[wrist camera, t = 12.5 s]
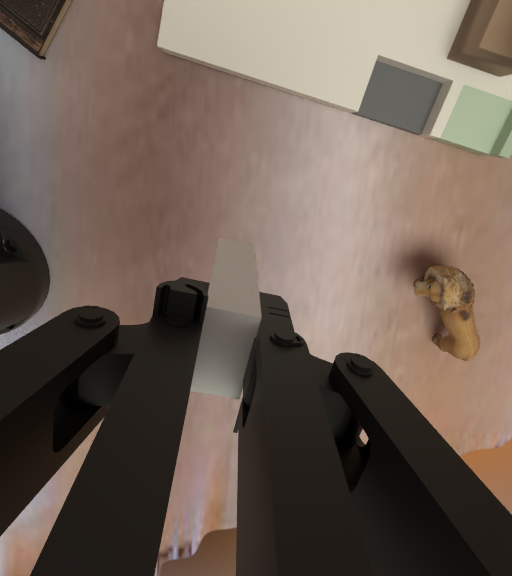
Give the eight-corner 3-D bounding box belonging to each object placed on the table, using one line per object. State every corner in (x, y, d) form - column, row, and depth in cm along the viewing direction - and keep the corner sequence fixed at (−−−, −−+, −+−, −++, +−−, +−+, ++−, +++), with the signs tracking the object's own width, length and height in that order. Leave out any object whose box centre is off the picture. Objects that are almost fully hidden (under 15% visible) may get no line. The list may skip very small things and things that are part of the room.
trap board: (165, 52, 34) (152, 42, 30) (204, -187, 28) (195, -241, 24) (481, 155, 38) (508, 158, 33) (576, -39, 32) (624, -64, 27)
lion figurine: (387, 262, 42) (419, 294, 34) (432, 236, 41) (476, 264, 33) (439, 355, 47) (478, 404, 39) (480, 334, 46) (529, 380, 37)
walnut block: (446, 58, 32) (478, 47, 27) (475, -12, 30) (515, -37, 25) (499, 76, 32) (540, 68, 28) (531, 9, 30) (580, -13, 26)
